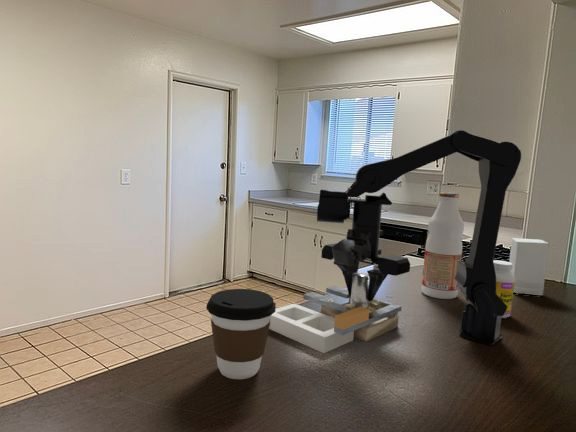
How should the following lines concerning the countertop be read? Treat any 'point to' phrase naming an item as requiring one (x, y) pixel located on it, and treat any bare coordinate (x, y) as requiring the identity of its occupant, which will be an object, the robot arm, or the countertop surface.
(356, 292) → the flanged silver cylinder
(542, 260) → the skincare box
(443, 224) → the fruit juice
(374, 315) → the key plate
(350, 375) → the countertop surface
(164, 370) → the countertop surface
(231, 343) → the coffee cup
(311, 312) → the white hollow block
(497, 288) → the supplement bottle
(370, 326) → the socket block
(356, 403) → the countertop surface
